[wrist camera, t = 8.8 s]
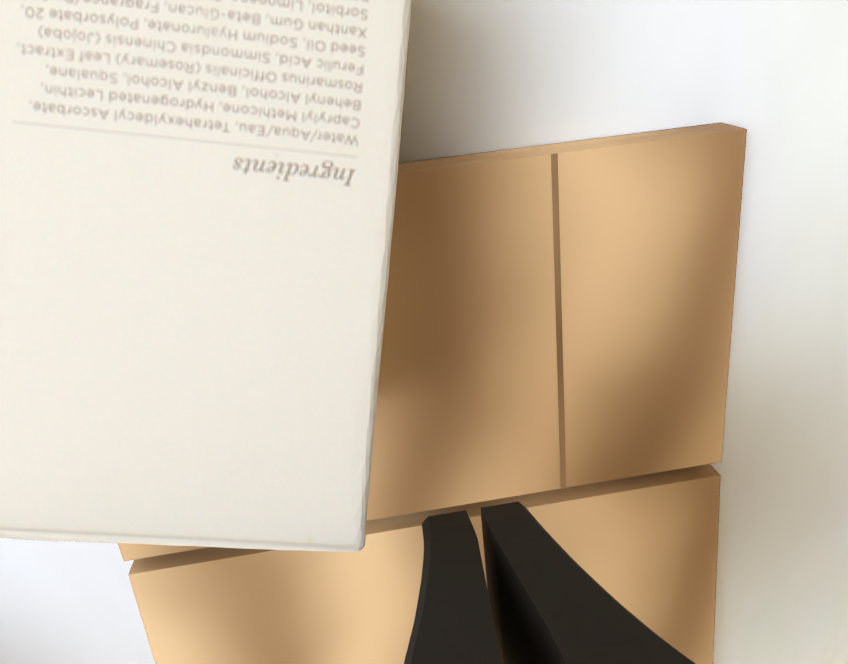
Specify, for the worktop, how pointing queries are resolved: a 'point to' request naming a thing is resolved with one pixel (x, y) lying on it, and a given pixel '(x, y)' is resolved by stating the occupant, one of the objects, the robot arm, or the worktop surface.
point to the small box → (195, 267)
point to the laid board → (554, 318)
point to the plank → (402, 571)
